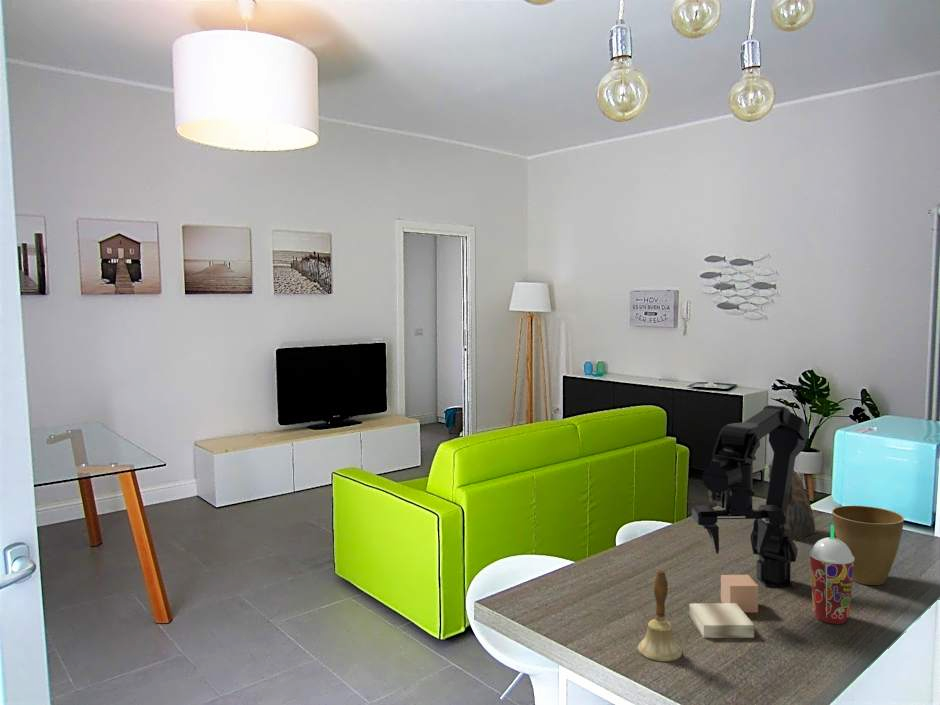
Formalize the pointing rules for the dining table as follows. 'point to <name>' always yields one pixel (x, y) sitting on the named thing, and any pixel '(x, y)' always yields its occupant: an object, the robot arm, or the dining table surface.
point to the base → (721, 620)
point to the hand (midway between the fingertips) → (737, 553)
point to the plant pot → (869, 540)
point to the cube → (740, 592)
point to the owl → (798, 509)
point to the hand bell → (660, 628)
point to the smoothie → (831, 579)
